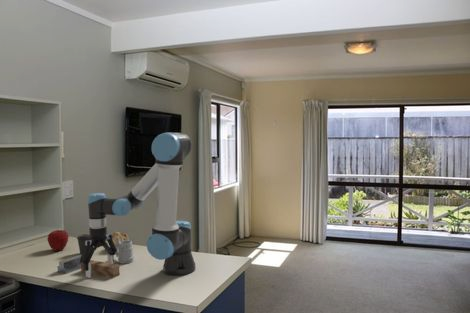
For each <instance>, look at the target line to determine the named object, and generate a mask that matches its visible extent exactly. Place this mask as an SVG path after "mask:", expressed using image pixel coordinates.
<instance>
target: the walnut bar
mask: <svg viewBox="0 0 470 313" xmlns="http://www.w3.org/2000/svg"><path fill="white" fill-rule="evenodd" d="M89 263H91V275H96V276H100V277H107V278H111V279H115V278H116V277H118V276H120V264H116V263H113V264H111V263H108V262H104V261H98V260H95V259H94V260H93V259H91V260H90V262H89ZM80 272H81V273H85V274H86V271H85V270H84V264H83V263H81V268H80Z"/></svg>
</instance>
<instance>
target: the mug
mask: <svg viewBox="0 0 470 313" xmlns="http://www.w3.org/2000/svg"><path fill="white" fill-rule="evenodd" d="M118 246H119V248H118ZM115 247H116V250H117V252H115V255H114V256H116V258H117V260H118V263H119V264H130V263H133V262H134V258H135V256H134V254H133V253H134V251H133V249H134V247H133V242H132V240H129V241H121V242H120V239H119V237H118V236H117V237H116V244H115Z"/></svg>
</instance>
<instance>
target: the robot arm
mask: <svg viewBox="0 0 470 313" xmlns="http://www.w3.org/2000/svg"><path fill="white" fill-rule="evenodd" d="M192 148H193V143H192V140H191V138H190V137H189V135H188V134H185V133H183V132H171V131H170V132H162V133H161V134H158V135H157V136H156V137H155V138H154V140H153V141H152V143H151V153H152V155H153V156H154V158H155V162H154V165H153V166H152V167H150V169H149V170H148V171H147V172H146V173H145V174H144V176H143V177H142V178H141V179H140V180H139V181H138V182H137V183H136V185H134V187H132V189H131V190H130V191H129V192H128V194H125V195H123V196H120V197H116V198H110V197H106V193H103V192H97V193H96V192H95V193H91V194H89V195H88V199H87V200H88V202H87V205H88V226H89V235H90V237H91V239H90V240H89V241H84V249H83V252H82V255H81V254H80V255H81V259H80V263H83V264H84V270H85V271H86V273H85V278H88V279H91V278H92V274H91V263H89V262H90V260H92V258H93V255H94V254H95V251H96V250H97V249H98V248H100V247H103V249H105V251H106V252H107V253H108V254H107V263H111V264H114V261H115V260H114V256H116V255H115V252H117V250H116V247H115V245H114V242H113V240H112V235H113V234H111V233H109V234H108V230H107V229H108V228H107V216H118V217H121V216H122V217H123V216H127V215H128V214H129V213H130V212H131V211H133V210H134V211H135V210H136V209H139V208H140V207H142V205H143V203H144V201H145V199H146V198H147V197H148V196H149V195H150V194H151V193H152V192H153V191H154V190H155V189H156V188H157V196H156V197H157V198H156V214H155V215H156V216H155V223H153V225H152V226H151V235H150V236H149V237H148V238H147V241H146V249H147V251H148V253H149V254H150V255H151V257H153V258H154V259H156V260H161V261H162V260H163V261H164V263H163V266H162V270H163V273H164V274H166V275H170V276H182V275H183V276H184V275H188V274H191V273H193V272H194V271H196V268H197V267H196V262H195V259H194V256H193V253H192V227H191V222H189V221H186V220H177V213H178V212H177V211H178V194H179V176H180V169H181V167H182V166H183V165H184V160H185V159H187V158H188V156H189V155H191V154H190V153H191V152H192ZM89 248H90V249H89Z"/></svg>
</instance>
